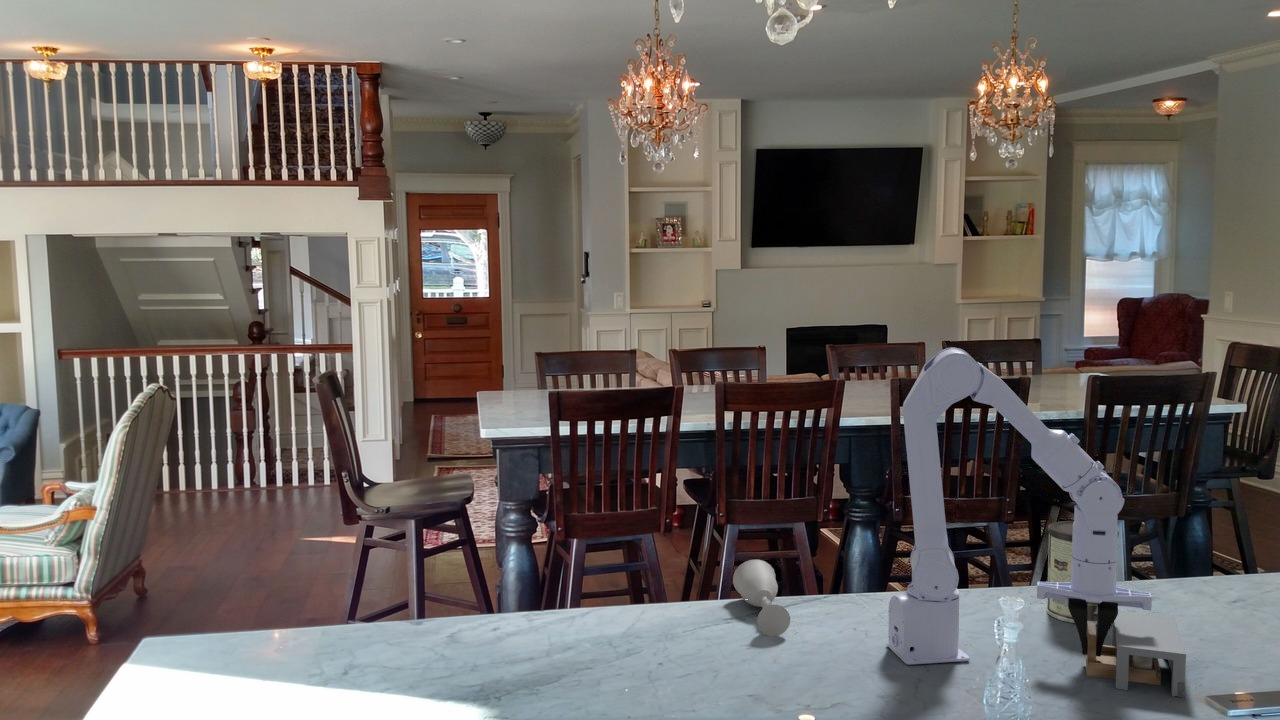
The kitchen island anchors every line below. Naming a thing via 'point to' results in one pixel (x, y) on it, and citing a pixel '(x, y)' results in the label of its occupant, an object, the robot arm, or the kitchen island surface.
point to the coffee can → (1063, 570)
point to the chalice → (762, 595)
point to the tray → (1106, 663)
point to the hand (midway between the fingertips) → (1091, 653)
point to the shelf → (1148, 645)
